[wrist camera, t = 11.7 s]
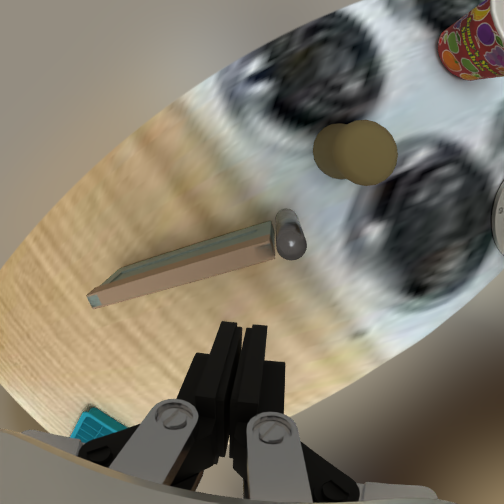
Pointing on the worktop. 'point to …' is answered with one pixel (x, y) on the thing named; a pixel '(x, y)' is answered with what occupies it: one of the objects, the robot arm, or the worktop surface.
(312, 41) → the worktop surface
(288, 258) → the gate posts
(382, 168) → the cork
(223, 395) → the robot arm
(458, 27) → the smoothie
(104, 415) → the ice cube tray
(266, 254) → the gate
